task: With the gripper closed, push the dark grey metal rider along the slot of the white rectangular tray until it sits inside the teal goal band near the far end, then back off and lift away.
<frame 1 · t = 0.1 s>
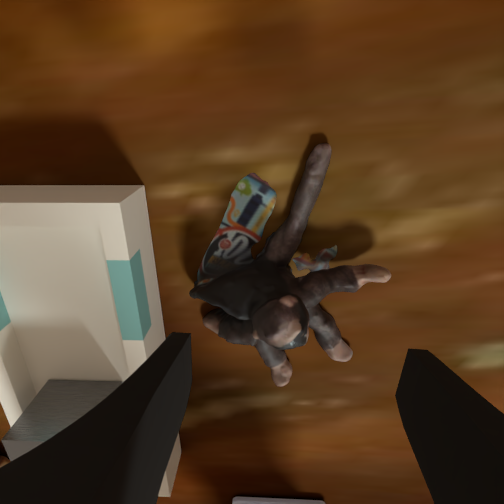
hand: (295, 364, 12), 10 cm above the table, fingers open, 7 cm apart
white rectangular tray: (95, 341, 25), on the table
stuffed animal: (284, 271, 22), on the table
rider: (73, 441, 22), point 5 cm above the table, slide at 0.0 cm
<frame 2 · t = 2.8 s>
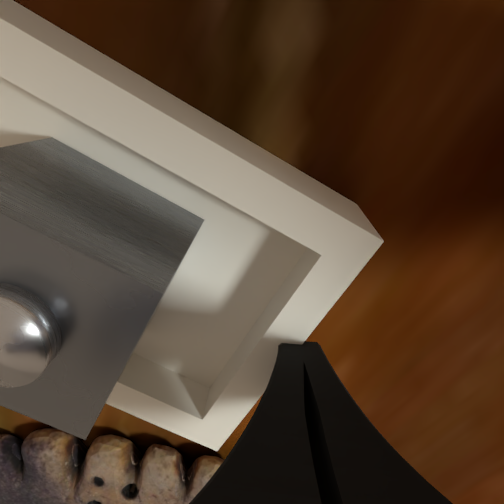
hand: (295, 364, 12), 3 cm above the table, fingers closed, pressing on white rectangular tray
white rectangular tray: (27, 171, 13), on the table
mask: (113, 502, 22), on the table
rider: (61, 282, 9), point 5 cm above the table, slide at 0.0 cm
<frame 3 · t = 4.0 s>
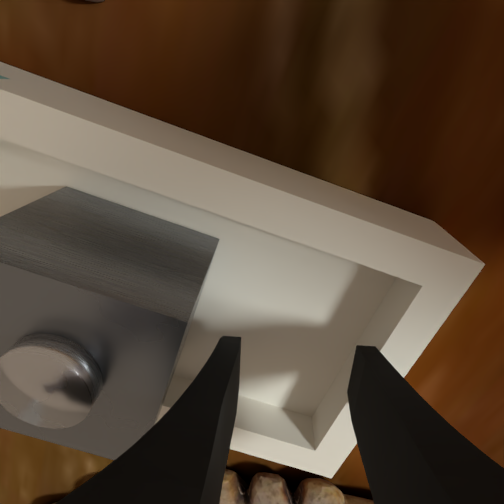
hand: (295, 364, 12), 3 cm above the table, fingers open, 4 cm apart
white rectangular tray: (115, 240, 14), on the table
rider: (95, 321, 10), point 5 cm above the table, slide at 2.6 cm, touching gripper
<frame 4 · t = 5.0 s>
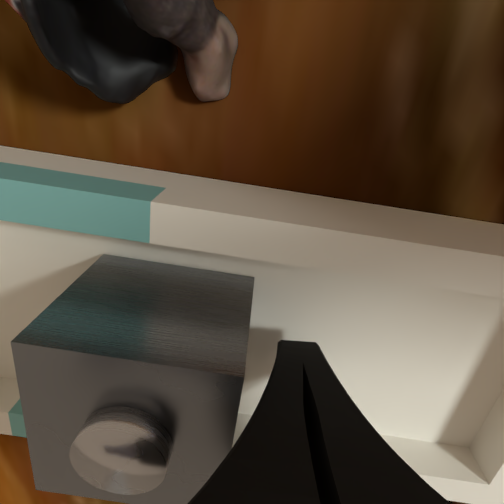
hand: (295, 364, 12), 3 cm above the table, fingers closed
white rectangular tray: (246, 305, 15), on the table
rider: (152, 380, 10), point 5 cm above the table, slide at 6.4 cm, touching gripper
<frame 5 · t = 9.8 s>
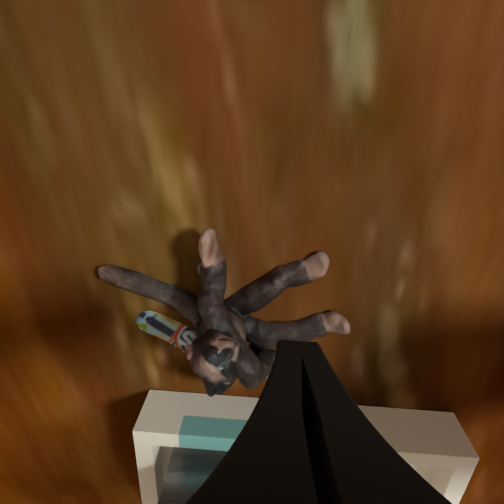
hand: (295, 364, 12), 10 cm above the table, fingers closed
white rectangular tray: (293, 448, 28), on the table
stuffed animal: (225, 301, 23), on the table
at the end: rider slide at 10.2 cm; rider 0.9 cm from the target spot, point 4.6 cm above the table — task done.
